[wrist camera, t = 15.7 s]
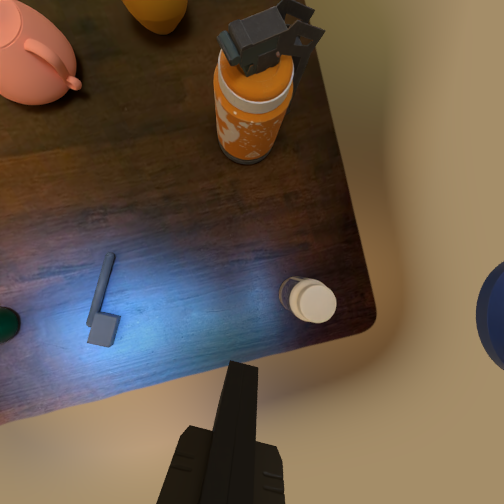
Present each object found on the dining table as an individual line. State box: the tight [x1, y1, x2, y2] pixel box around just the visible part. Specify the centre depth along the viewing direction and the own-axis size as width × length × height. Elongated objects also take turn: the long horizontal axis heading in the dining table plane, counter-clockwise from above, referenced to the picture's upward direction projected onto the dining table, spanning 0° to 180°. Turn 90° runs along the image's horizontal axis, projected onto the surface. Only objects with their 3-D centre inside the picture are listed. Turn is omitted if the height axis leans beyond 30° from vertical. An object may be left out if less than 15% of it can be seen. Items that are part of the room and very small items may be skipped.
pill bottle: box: [279, 276, 336, 323], centre depth 35 cm, size 6×6×10 cm
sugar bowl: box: [0, 0, 82, 105], centre depth 33 cm, size 12×14×10 cm
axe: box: [86, 252, 121, 347], centre depth 37 cm, size 13×4×1 cm, turn 166°
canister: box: [214, 0, 325, 164], centre depth 31 cm, size 9×11×20 cm
